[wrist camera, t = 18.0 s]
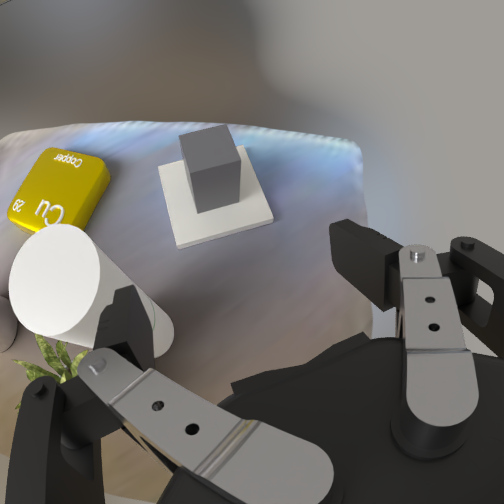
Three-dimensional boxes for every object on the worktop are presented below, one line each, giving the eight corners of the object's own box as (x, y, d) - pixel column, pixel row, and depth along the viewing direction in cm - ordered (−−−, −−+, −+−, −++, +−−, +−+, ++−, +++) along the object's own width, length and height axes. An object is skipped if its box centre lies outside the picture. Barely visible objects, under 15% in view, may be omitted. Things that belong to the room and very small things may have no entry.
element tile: (115, 174, 49) (107, 157, 44) (73, 253, 43) (60, 241, 39) (55, 158, 50) (45, 143, 45) (15, 227, 44) (1, 215, 40)
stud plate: (178, 249, 44) (167, 222, 36) (159, 171, 49) (149, 137, 41) (272, 222, 46) (280, 191, 39) (242, 150, 51) (244, 114, 43)
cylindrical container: (116, 315, 40) (5, 246, 17) (164, 298, 41) (89, 207, 18) (132, 365, 38) (18, 348, 15) (181, 348, 39) (113, 315, 16)
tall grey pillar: (197, 214, 45) (189, 173, 35) (187, 179, 47) (178, 135, 37) (239, 202, 46) (241, 159, 36) (226, 169, 48) (226, 124, 38)
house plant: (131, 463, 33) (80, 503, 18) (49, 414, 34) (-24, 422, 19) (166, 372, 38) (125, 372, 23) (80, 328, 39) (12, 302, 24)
